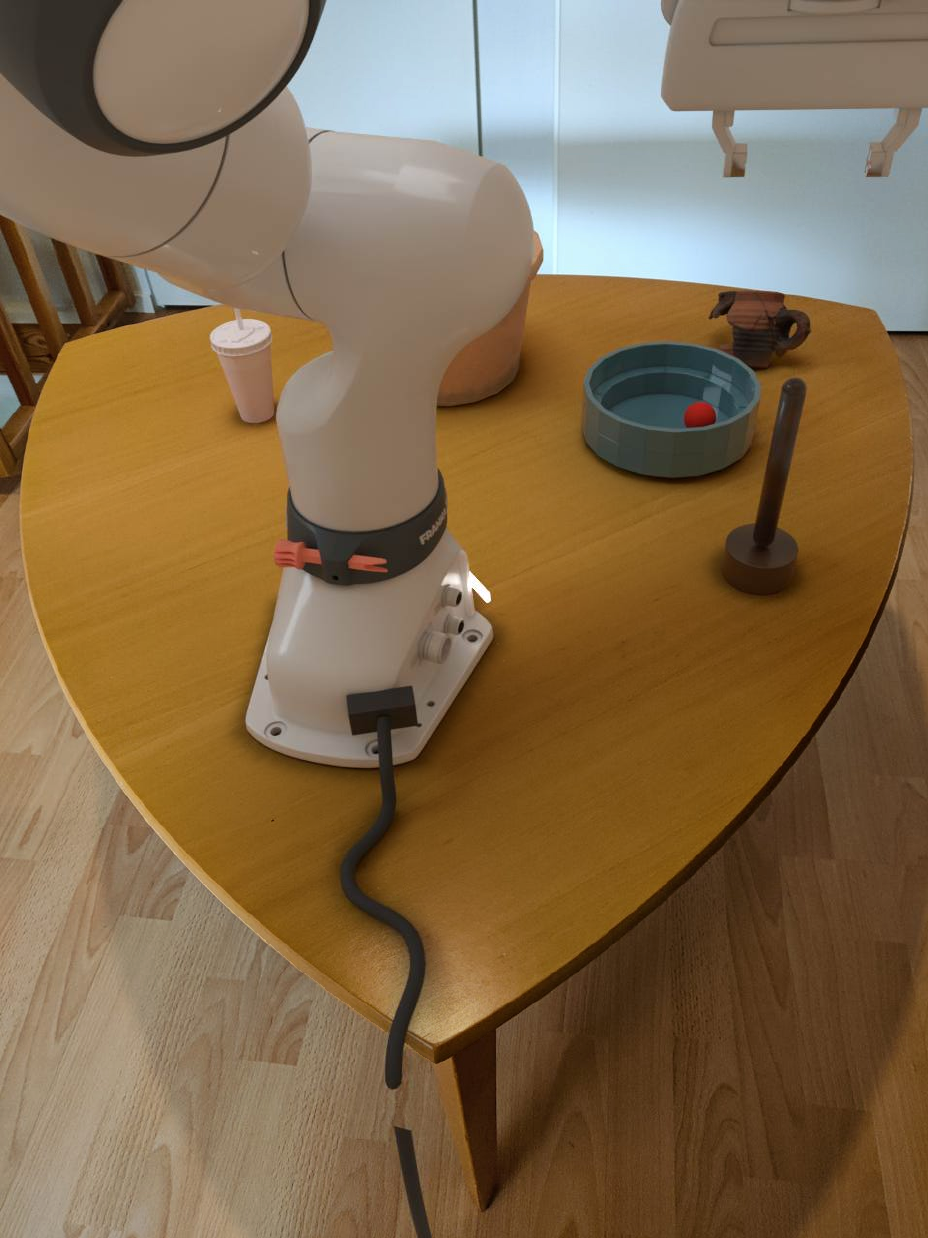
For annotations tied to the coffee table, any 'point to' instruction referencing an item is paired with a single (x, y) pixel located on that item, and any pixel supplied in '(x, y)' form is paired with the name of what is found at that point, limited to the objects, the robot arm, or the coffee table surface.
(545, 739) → the coffee table surface
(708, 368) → the bowl
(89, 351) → the coffee table surface
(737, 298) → the pottery mug
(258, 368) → the smoothie
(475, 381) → the pottery
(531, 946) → the coffee table surface
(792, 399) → the wooden plunger
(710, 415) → the cherry tomato
